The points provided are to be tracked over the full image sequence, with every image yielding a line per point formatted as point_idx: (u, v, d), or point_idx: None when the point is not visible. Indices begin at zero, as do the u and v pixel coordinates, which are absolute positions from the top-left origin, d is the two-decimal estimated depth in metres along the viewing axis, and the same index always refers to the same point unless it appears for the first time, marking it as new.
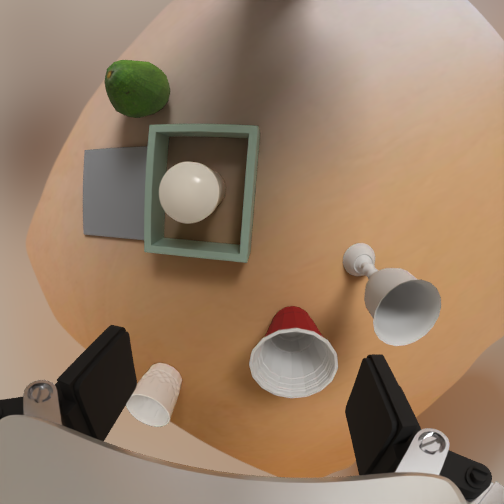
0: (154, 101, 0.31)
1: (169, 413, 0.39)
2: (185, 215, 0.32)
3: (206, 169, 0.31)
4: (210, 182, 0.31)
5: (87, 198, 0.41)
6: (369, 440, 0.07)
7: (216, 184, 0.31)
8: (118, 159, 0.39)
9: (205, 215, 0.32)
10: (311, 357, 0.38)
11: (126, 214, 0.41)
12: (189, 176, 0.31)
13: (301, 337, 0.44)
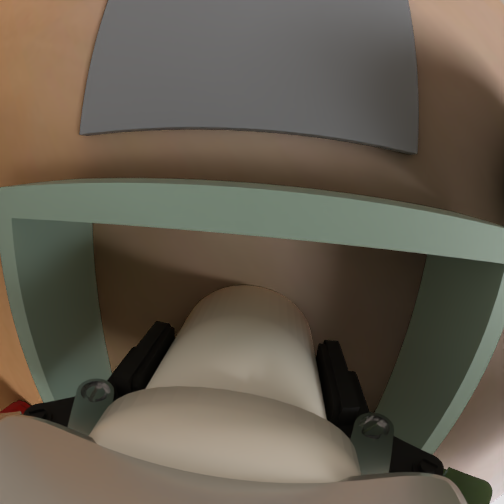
0: None
1: None
2: None
3: None
4: None
5: None
6: None
7: None
8: (375, 32, 0.08)
9: None
10: None
11: (162, 55, 0.09)
12: None
13: None
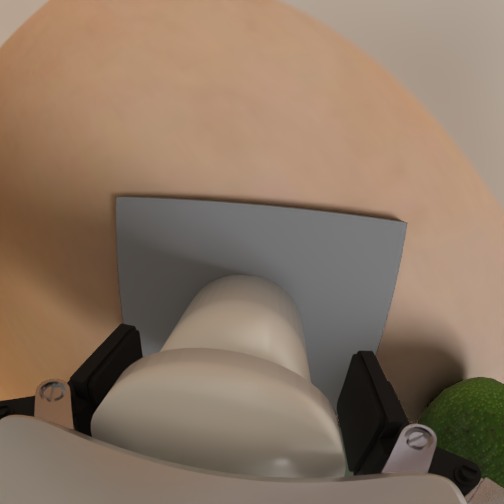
0: None
1: None
2: None
3: None
4: None
5: (235, 226, 0.13)
6: (358, 435, 0.07)
7: None
8: (345, 350, 0.14)
9: None
10: None
11: None
12: None
13: None
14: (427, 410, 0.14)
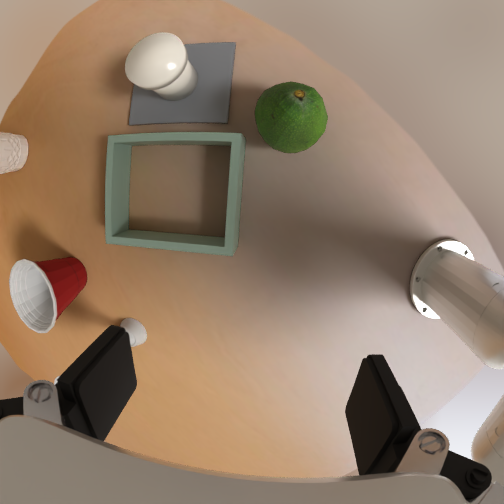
0: (267, 140, 0.29)
1: None
2: (132, 58, 0.24)
3: (171, 72, 0.25)
4: (158, 77, 0.25)
5: None
6: (369, 440, 0.07)
7: (155, 83, 0.25)
8: (216, 86, 0.33)
9: (129, 76, 0.25)
10: (46, 300, 0.37)
11: (154, 101, 0.33)
12: (168, 58, 0.24)
13: None
14: None
